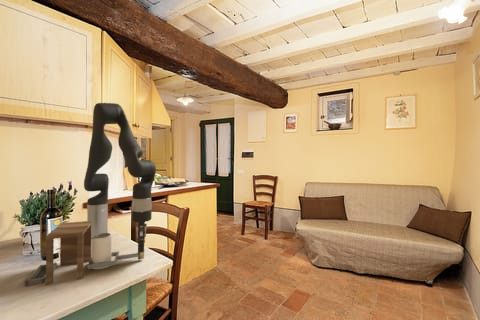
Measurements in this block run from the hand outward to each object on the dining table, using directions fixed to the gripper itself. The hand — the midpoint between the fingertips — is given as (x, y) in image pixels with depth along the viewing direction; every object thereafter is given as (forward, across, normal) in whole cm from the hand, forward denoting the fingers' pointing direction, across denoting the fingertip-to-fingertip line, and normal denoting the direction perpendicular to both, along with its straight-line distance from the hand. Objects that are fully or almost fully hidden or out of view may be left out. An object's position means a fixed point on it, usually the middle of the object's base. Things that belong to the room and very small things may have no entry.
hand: (141, 250), depth 93 cm
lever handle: (+3, 0, -8) cm, 9 cm away
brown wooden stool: (+4, 0, -24) cm, 24 cm away
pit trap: (+4, 0, -32) cm, 32 cm away
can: (+4, 0, -14) cm, 15 cm away
